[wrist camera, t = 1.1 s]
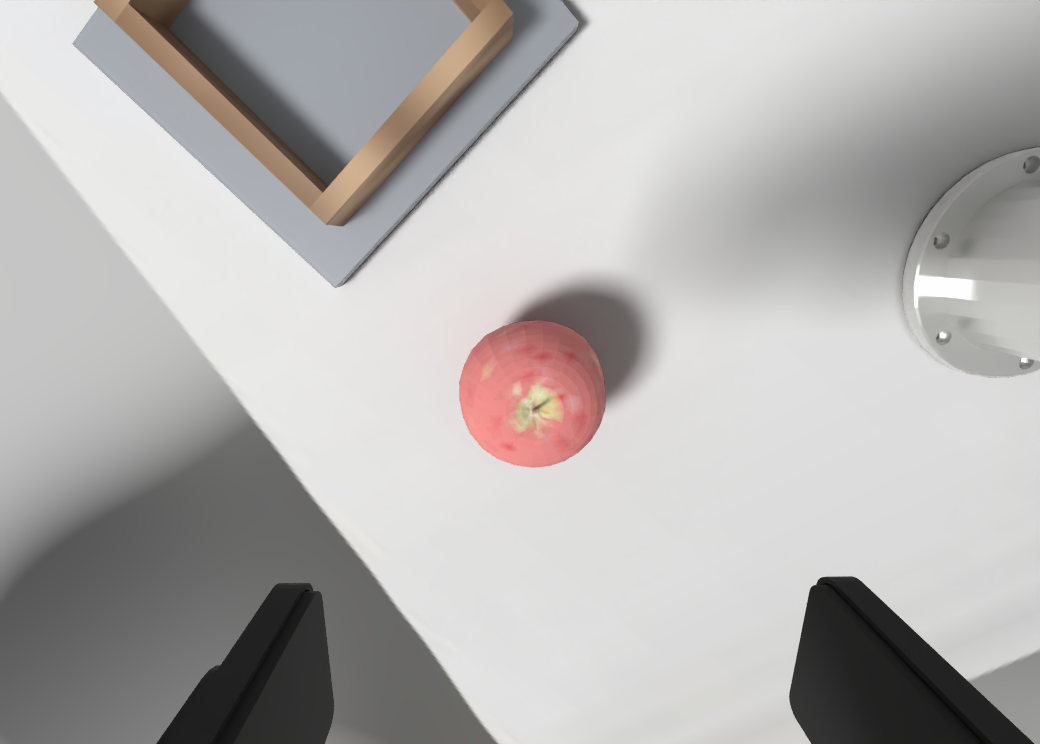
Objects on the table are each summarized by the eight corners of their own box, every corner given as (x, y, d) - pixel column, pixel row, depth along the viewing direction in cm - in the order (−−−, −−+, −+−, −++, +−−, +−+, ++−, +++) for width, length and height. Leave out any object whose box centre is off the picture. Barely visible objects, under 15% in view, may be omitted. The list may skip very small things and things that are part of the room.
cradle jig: (326, -276, 21) (292, -378, 17) (576, 31, 24) (587, -4, 20) (89, 51, 24) (19, 19, 20) (340, 286, 27) (317, 292, 23)
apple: (463, 310, 27) (446, 336, 20) (591, 308, 28) (624, 333, 20) (468, 431, 29) (455, 498, 22) (588, 429, 29) (617, 494, 22)
